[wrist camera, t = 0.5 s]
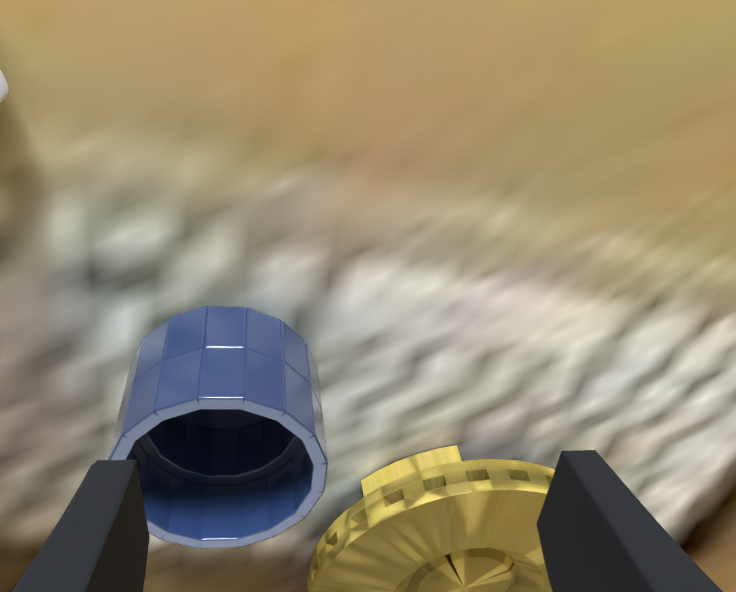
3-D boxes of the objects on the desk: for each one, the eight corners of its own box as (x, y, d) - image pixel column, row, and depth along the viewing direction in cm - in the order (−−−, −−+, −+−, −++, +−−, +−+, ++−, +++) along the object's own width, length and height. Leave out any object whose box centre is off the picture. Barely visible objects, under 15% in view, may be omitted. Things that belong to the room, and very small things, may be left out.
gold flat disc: (654, 475, 28) (681, 520, 26) (511, 648, 33) (525, 695, 32) (374, 414, 24) (384, 462, 22) (266, 620, 30) (267, 672, 28)
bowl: (178, 454, 24) (164, 569, 20) (100, 328, 21) (65, 437, 17) (337, 407, 24) (351, 515, 20) (281, 272, 21) (286, 370, 17)
